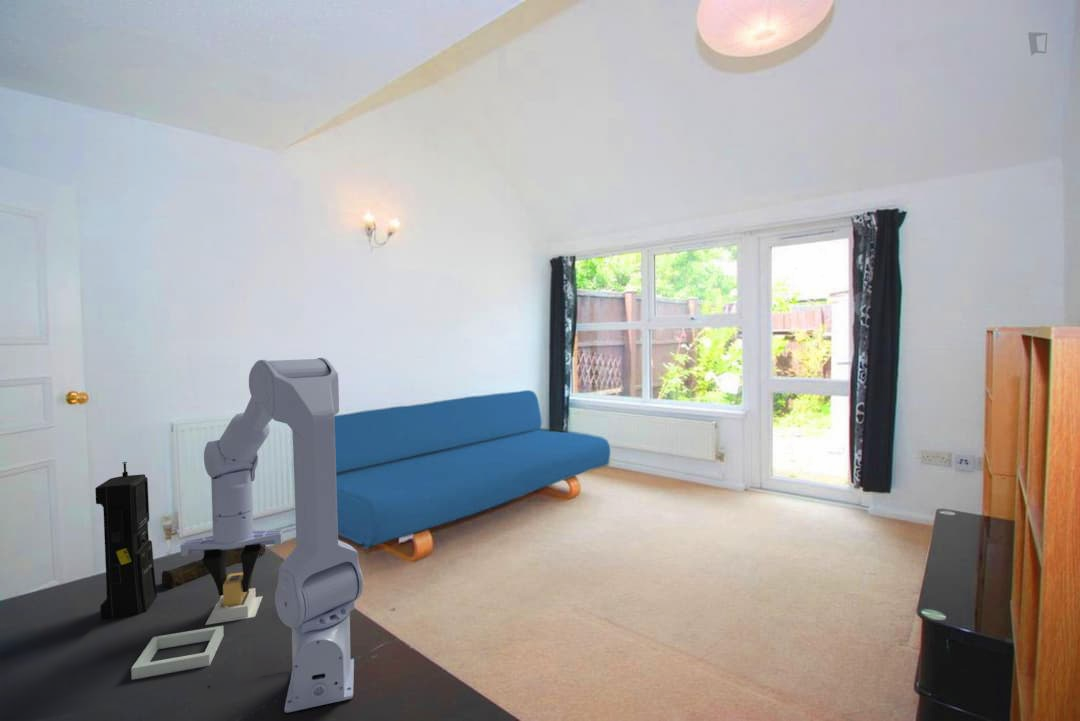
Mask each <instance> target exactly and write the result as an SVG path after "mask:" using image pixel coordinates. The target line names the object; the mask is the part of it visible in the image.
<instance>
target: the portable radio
mask: <svg viewBox="0 0 1080 721" xmlns="http://www.w3.org/2000/svg"><path fill="white" fill-rule="evenodd" d="M127 463H128V462H127V461H124V462H122V464H123V472H122V473H121V474H122V475H121V476H117V477H111V478H109V479H107V480H106V481H104V482H103V483H101V484H99V485H98V486H97V487H95V488H94V489H95V492H94V493H95V504H96V505H101V506H102V508H103V512H102V513H103V533H104V554H105V555H104V557H105V558H104V559H105V560H104V561H105V581H106V585H105V586H106V599H104V601H103V602H102V603H101V604H100V605H99V606H100V620H113V619H120V618H124V617H125V618H127V617H133V616H138V615H141V614H143V613H146V612H147V611H148V610H149V609H150V607H151V606H152V605H153V603H154V602H155V600H156V599H157V597H158V590H157V584H156V575H155V564H154V553H153V552H154V551H153V550H154V549H153V541H152V540H149V538H150V536H149V522H150V502H149V485H148V484H149V482H148V481H149V480H148V477H146V474H144V473H143V474H133V475H132V474H131V475H130V474H129V472H128V471H127Z"/></svg>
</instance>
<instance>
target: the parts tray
mask: <svg viewBox="0 0 1080 721" xmlns="http://www.w3.org/2000/svg"><path fill="white" fill-rule="evenodd" d="M224 636H225V635H224V625H220V626H219V625H218V626H212V627H206V628H200V629H194V630H188V631H182V632H180V631H179V632H176V633H169V634H163V635H158V636H153V637H152V638H151V640H150V641H149V642H148V643H147V645H146V647H145V649H143V651H142V652H141V653H140V656H139V657H138V658H137V659H136V661H135V663H133V665H132V666H131V670H130V672H131V681H132V680H139V679H143V678H148V677H154V676H155V677H156V676H160V675H166V674H170V673H177V672H180V671H186V670H187V671H188V670H192V669H197V668H204V667H208V666H209V667H210V666H211V663H212V661H213V659H214V657H215V655H216V652H217V650H218V648H219V646H220V645H221V642H222V640H223V638H224ZM208 641H209V642H208ZM201 642H208V644H207V647H206V648H205V649H204V650H205V651H204V652H200V653H195V654H194V653H193V654H189V655H183V656H178V657H171V658H166V659H165V658H164V659H161V660H154V661H152V659H153V658H154V656H155V654H156V653H157V652H158V650H160V649H161V650H162V649H167V648H173V647H179V646H184V645H185V646H186V645H190V644H196V643H201Z"/></svg>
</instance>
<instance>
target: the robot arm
mask: <svg viewBox="0 0 1080 721" xmlns="http://www.w3.org/2000/svg"><path fill="white" fill-rule="evenodd" d="M339 386H340V385H339V373H338V371H337V370H336V369H335V367H334V366H333V364H332V363H331V362H330V361H329V360H328V359H327V358H324V357H318V358H311V359H307V358H306V359H283V360H282V359H279V360H277V359H276V360H267V359H258V360H256V362H254V364H253V365H252V367H251V369H250V371H249V375H248V390H249V394H250V399H249V401H248V403H247V406H246V408H245V409H244V412H240V413H236V414H235V415H234V416H233V418H232V419H230V421H229V423H228V425H227V427H226V428H225V430H224V432H223V433H222V435H221V437H220V438H219V439H217V440H210V441H208V442H207V443H206V445H205V447H204V451H203V463H204V468H205V471H206V473H207V475H208V476H209V477H210V479H211V480H210V481H211V482H210V483H211V513H212V514H211V516H212V519H211V520H212V535H208V536H205V537H198V538H194V539H187V540H184V541H183V542H182V543H181V544H180V557H182V558H183V557H188V556H190V555H193V554H195V555H196V554H203V557H202V558H201V559H202V562H203V565H204V566H205V567H206V568H207V569H208V571H209V572H210V576H212V579H213V580H214V581H213V582H214V583H215V585H216V589H217V591H218V592H217V593H218V596H220V597H221V596H222V595H223V584H224V582H225V580H226V579H227V577H228V575H227V567H226V553H227V550H229V549H237V548H245V549H244V550H243V552H242V554H241V560H242V563H241V565H242V567H241V568H242V572H243V592H248V590H249V589H251V581H252V576H253V572H254V569H255V565H256V562H257V559H258V558H259V557H258V555H259V552H260V550H261V548H262V546H263V545H265V546H268V545H269V546H270V545H274V546H281V545H282V543H283V538H284V535H283V531H284V530H283V529H276V530H273V529H271V530H263V529H262V530H259V529H258V530H257V529H256V530H254V521H253V520H254V519H253V490H252V488H253V486H252V485H253V482H254V481H255V479H256V469H257V467H258V462H259V455H258V451H259V450H260V448H261V447H262V445H263V444H264V443H265V441H266V439H267V438H268V436H269V435H270V432H271V430H270V424H269V423H270V422H271V421H272V419H273V420H274V422H279V423H283V424H286V425H287V426H288V427H289V428H290V429H291V432H292V445H293V446H292V447H293V448H292V450H293V452H292V453H293V475H294V476H293V479H294V481H293V482H294V483H293V484H294V505H295V506H294V507H295V508H294V510H295V536H296V538H295V540H296V546H295V547H294V548H293V549H292V551H291V553H290V554H289V555H288V556H287V557H286V558H285V559H284V561H283V562H282V563H281V564H280V565H279V567H278V579H277V585H276V588H275V594H274V604H275V608H276V612H277V615H278V617H279V619H280V620H281V622H282V623H283V624H284V625H285V626H287V627H288V628H290V629H291V652H292V653H291V654H292V660H291V661H292V664H291V665H292V667H291V668H292V671H291V676H290V681H289V684H288V690H287V694H286V695H287V696H286V698H285V704H284V710H283V711H284V713H292V712H297V711H301V710H307V709H311V708H315V707H320V706H323V705H328V704H333V703H340V702H343V701H348V700H351V699H352V698H353V696H354V681H355V680H354V678H355V676H354V675H355V674H354V673H355V672H354V671H355V657H351V612H352V611H353V610H355V608H356V607H355V601H357V600H358V599H359V598H360V597H361V596H362V592H363V588H364V576H363V572H362V569H361V566H360V561H359V553H358V552H359V551H357V549H356V548H354V547H353V546H352V545H350V544H348V543H347V542H344V541H342V540H340V539H339V528H338V527H339V526H338V523H339V522H338V495H337V494H338V492H337V491H338V490H337V463H336V462H337V461H336V460H337V458H336V455H337V454H336V430H335V429H336V428H335V426H336V425H335V417H336V416H337V414H339V412H340V395H339V393H340V391H339Z"/></svg>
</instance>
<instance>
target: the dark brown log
mask: <svg viewBox="0 0 1080 721" xmlns="http://www.w3.org/2000/svg"><path fill="white" fill-rule="evenodd" d="M263 546H264V547H265V548H264V547H263ZM263 546H262V548H261V550H260V552H259V555H261V554H262V555H264V554H265V553H266V545H263ZM244 549H245V548H237V549H229V550H227V553H226V568H227V567H230V566H232V565H235V564H242V560H241V554H242V552H243V550H244ZM262 555H261V556H262ZM202 559H203V558H201V559H199V560H195V561H191V562H189V563H186V564H184V565H180V566H179V567H175V568H173V569H169V570H162V573H161V584H162V586H164V587H165V588H167V589H172V590H173V589H175V588H176V587H178V586H182V585H185V583H188V582H191V581H193V580H196V579H198V578H202V577H203V576H207V575H209V574H210V572H209V571H208V569H207V568H206V567H205V566H204V565H203V562H202ZM210 575H211V574H210Z"/></svg>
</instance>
